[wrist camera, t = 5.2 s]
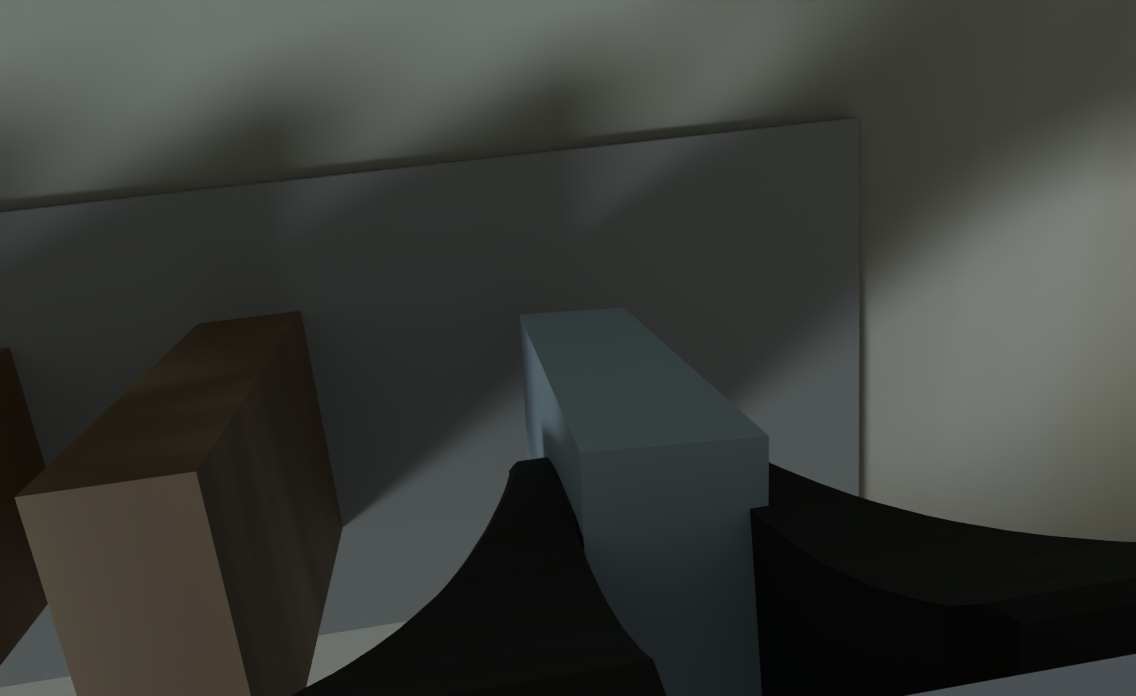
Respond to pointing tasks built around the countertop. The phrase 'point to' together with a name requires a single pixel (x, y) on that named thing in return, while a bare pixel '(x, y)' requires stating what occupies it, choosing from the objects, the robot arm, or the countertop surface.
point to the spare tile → (653, 490)
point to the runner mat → (457, 317)
